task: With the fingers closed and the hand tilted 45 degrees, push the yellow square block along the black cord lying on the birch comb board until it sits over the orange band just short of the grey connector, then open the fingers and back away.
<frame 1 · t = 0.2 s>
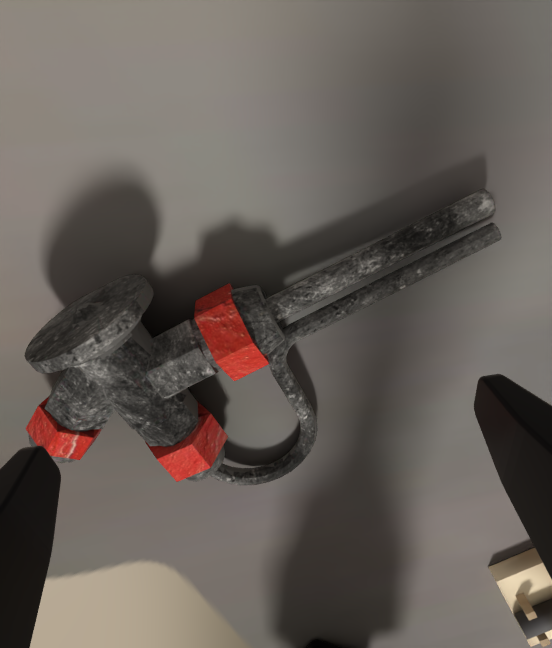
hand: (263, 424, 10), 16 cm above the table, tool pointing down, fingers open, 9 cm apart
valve: (271, 347, 27), on the table
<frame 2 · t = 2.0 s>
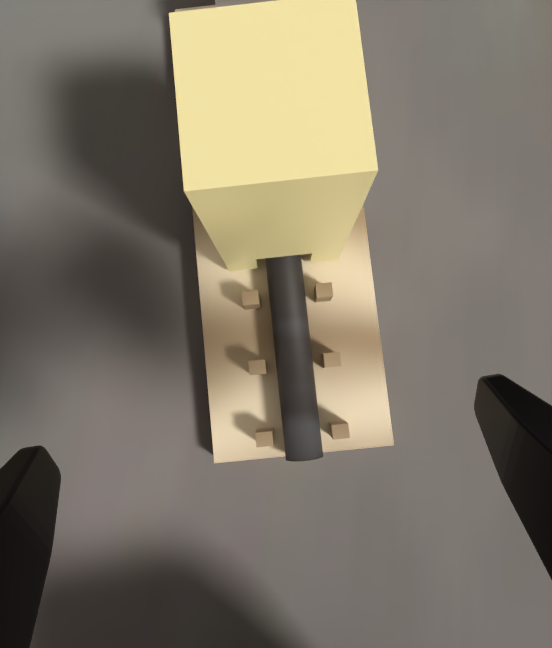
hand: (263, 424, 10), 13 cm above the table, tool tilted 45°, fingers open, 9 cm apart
comb board: (278, 223, 23), on the table
yellow square block: (275, 168, 17), point 6 cm above the table, slide at 0.0 cm
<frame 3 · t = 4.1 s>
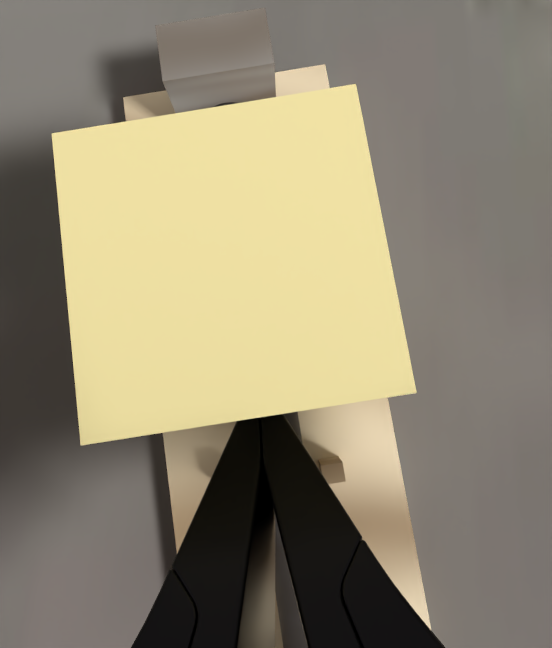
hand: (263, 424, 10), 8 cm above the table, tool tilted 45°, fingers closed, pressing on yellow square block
comb board: (267, 361, 18), on the table
yellow square block: (250, 309, 12), point 6 cm above the table, slide at 1.0 cm, touching gripper
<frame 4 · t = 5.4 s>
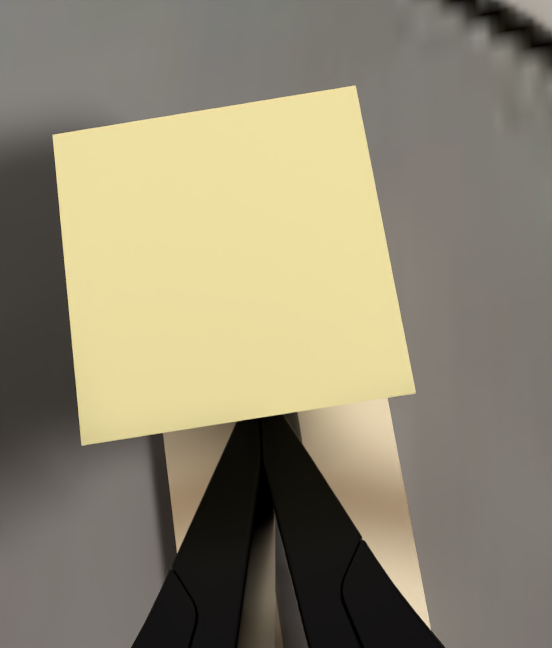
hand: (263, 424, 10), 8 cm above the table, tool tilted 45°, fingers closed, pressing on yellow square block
comb board: (290, 507, 17), on the table
yellow square block: (250, 309, 12), point 6 cm above the table, slide at 6.4 cm, touching gripper
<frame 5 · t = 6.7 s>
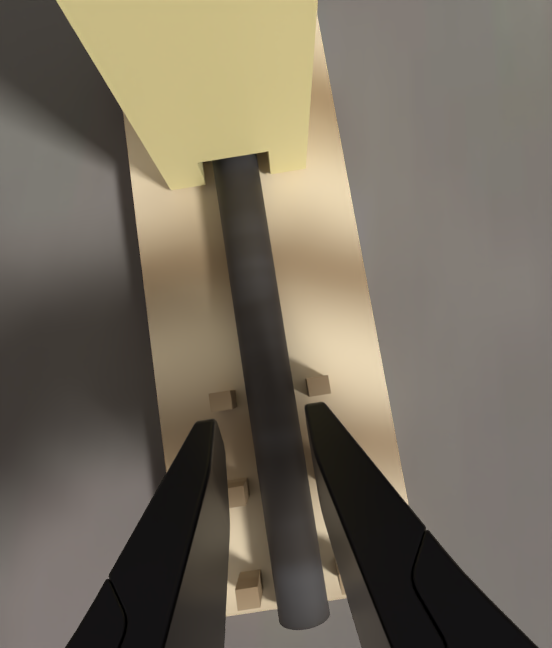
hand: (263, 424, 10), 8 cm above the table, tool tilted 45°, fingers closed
comb board: (256, 289, 18), on the table
yellow square block: (206, 18, 13), point 6 cm above the table, slide at 6.3 cm
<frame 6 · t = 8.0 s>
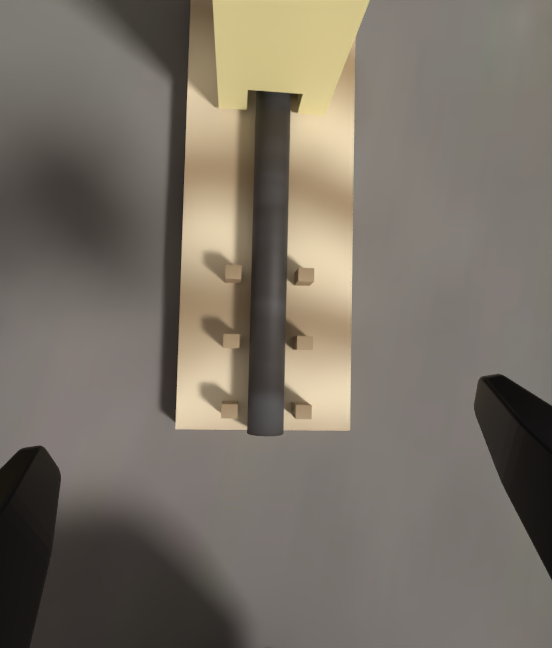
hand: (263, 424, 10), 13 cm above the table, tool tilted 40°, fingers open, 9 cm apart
comb board: (267, 202, 23), on the table
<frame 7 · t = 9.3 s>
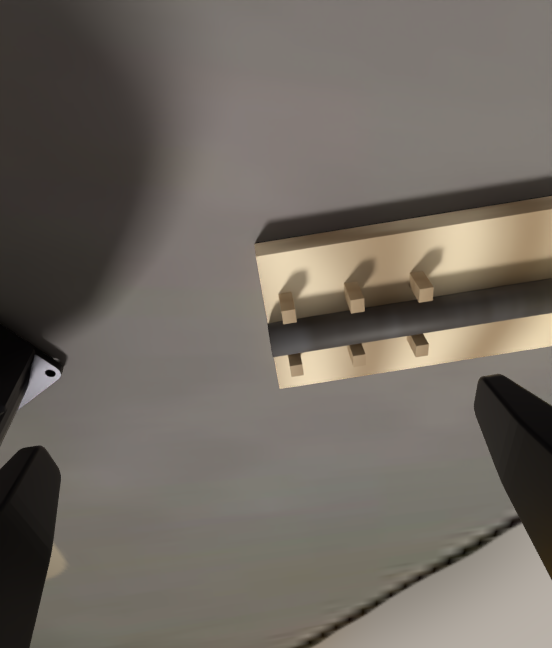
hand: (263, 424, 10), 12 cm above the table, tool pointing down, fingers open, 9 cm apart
comb board: (486, 280, 23), on the table
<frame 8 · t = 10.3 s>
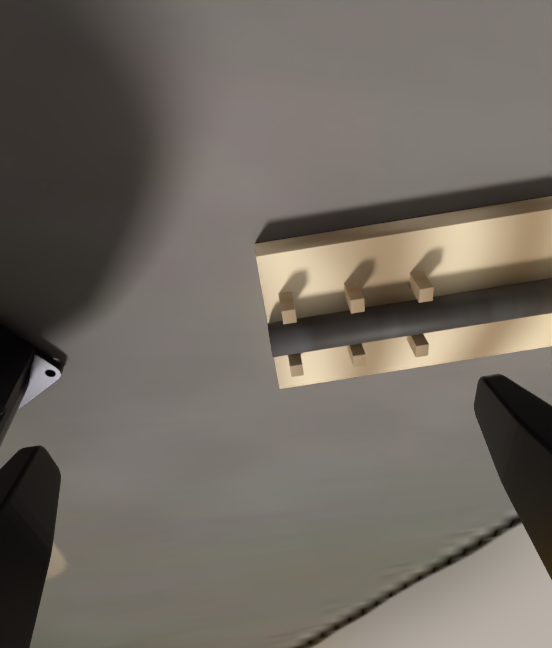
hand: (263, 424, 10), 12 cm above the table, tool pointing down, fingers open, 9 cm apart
comb board: (486, 280, 23), on the table
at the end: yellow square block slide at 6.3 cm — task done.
